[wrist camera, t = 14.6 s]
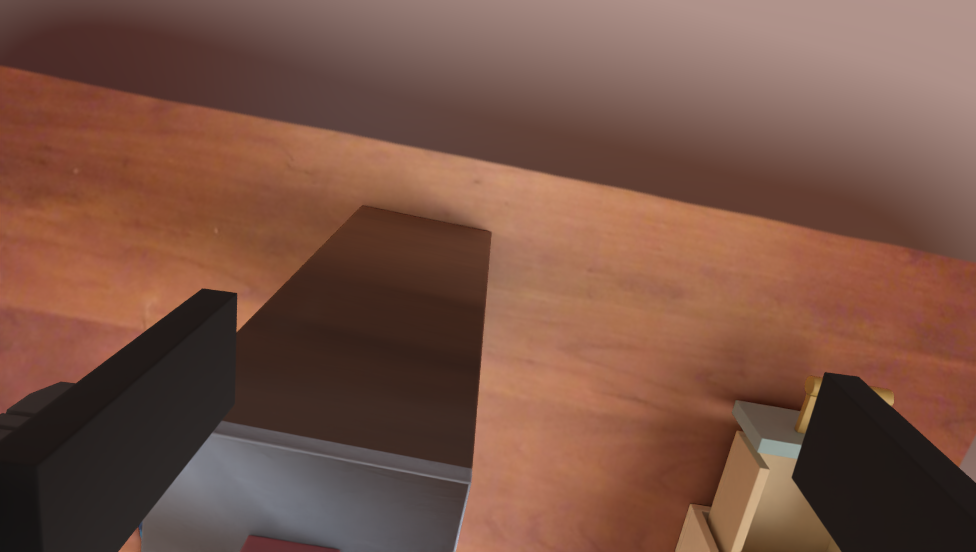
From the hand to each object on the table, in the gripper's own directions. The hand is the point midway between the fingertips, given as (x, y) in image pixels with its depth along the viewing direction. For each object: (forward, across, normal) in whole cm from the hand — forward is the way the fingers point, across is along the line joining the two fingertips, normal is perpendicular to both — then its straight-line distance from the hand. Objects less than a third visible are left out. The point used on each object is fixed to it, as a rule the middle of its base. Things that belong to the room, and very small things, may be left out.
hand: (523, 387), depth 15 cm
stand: (+36, -6, -10) cm, 38 cm away
